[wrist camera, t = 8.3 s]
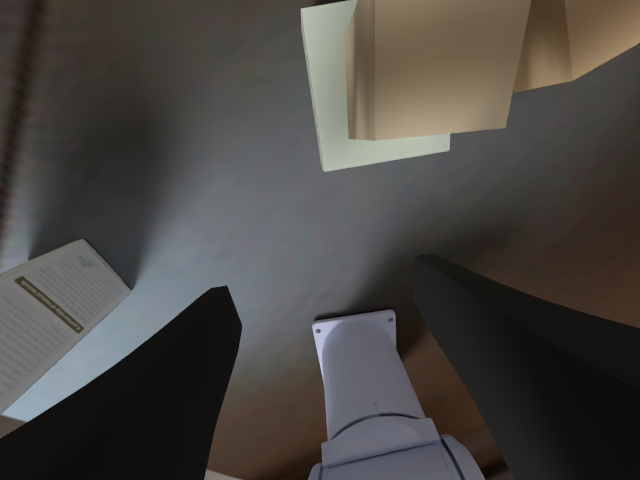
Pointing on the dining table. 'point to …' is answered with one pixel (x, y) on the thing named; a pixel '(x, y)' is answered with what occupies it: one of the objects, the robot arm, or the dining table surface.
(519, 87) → the oak block
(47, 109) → the dining table surface
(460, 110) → the maple block
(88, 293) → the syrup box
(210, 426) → the robot arm
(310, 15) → the plinth block
